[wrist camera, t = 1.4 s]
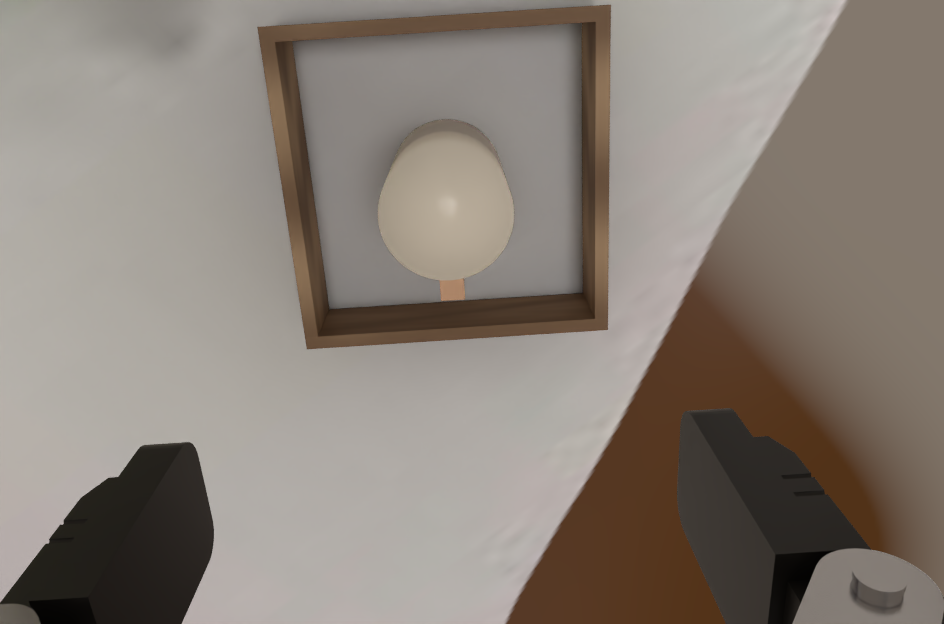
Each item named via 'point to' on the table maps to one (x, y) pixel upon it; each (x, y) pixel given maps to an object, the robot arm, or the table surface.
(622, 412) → the table surface
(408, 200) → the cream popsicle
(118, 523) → the robot arm
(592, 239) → the holder
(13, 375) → the table surface
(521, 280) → the table surface
